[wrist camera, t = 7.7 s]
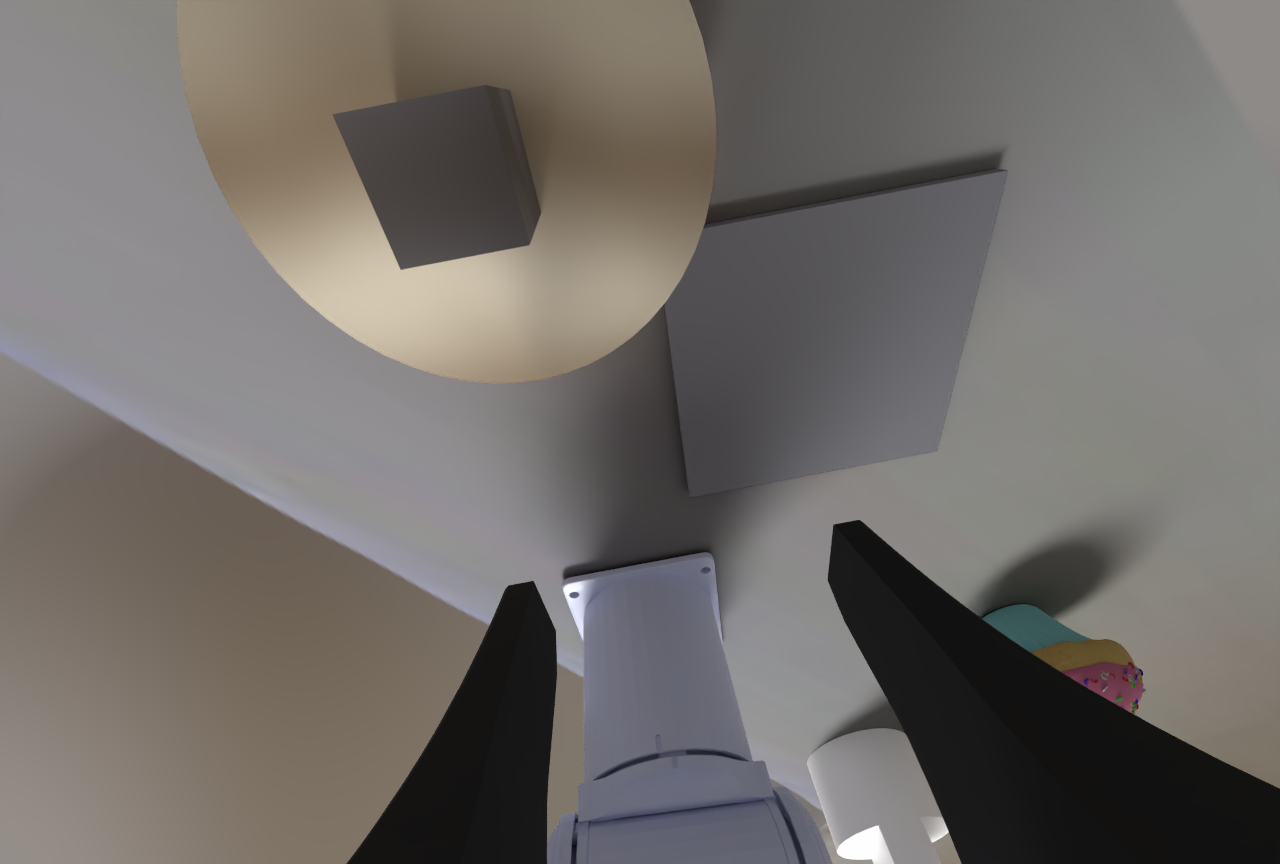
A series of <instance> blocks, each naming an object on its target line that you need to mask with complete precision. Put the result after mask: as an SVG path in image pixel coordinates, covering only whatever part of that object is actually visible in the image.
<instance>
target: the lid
mask: <svg viewBox="0 0 1280 864" xmlns="http://www.w3.org/2000/svg"><path fill="white" fill-rule="evenodd" d="M177 24H178V51H179V57H180V63H181V69H182V76H183V82H184V88H185V94H186V98H187V101H188V105H189V108H190V112H191V115H192V119H193V122H194V126H195V129H196V133H197V136H198V139H199V141H200V144H201V146H202V149H203V151H204V154H205V156H206V159H207V161H208V163H209V166H210V168H211V171H212V173H213V176H214V178H215V180H216V181H217V183H218V185H219V187H220V189H221V191H222V193H223V195H224V196H225V198H226V200H227V202H228V204H229V206H230V208H231V210H232V211H233V213H234V215H235V216H236V218H237V219H238V221H239V222H240V224H241V225H242V227H243V228H244V230H245V231H246V233H247V234H248V236H249V237H250V239H251V240H252V242H253V243H254V245H255V246H256V247H257V248H258V250H259V251H260V252H261V253H262V254H263V256H264V257H265V258H266V259H267V261H268V262H269V263H270V264H271V265H272V267H273V268H274V269H275V270H276V272H277V273H278V274H279V275H280V276H281V277H282V278H283V279H284V280H285V281H286V282H287V283H288V284H289V285H290V286H291V287H292V288H293V289H294V290H295V291H296V292H297V293H298V294H299V295H300V296H301V297H302V298H303V299H304V300H305V301H306V302H307V303H308V304H310V305H311V306H312V307H313V308H314V309H316V310H317V311H318V312H319V313H320V314H322V315H323V316H324V317H325V318H326V319H327V320H329V321H330V322H331V323H333V324H334V325H336V326H337V327H339V328H340V329H342V330H343V331H344V332H346V333H347V334H349V335H350V336H352V337H353V338H355V339H356V340H358V341H360V342H361V343H363V344H365V345H367V346H369V347H370V348H372V349H374V350H376V351H378V352H379V353H381V354H383V355H385V356H387V357H390V358H392V359H394V360H397V361H399V362H401V363H403V364H406V365H408V366H410V367H413V368H417V369H420V370H423V371H426V372H429V373H432V374H435V375H439V376H444V377H449V378H453V379H458V380H463V381H472V382H482V383H520V382H528V381H535V380H542V379H546V378H550V377H554V376H558V375H562V374H566V373H568V372H571V371H573V370H576V369H579V368H581V367H584V366H586V365H589V364H591V363H592V362H594V361H596V360H598V359H600V358H602V357H604V356H606V355H607V354H609V353H611V352H612V351H614V350H615V349H616V348H618V347H619V346H621V345H622V344H624V343H625V342H626V341H628V340H629V339H631V338H632V337H633V336H634V335H635V334H636V333H637V332H638V331H639V330H640V329H641V328H643V327H644V326H645V325H646V324H647V323H648V322H649V321H650V320H651V319H652V318H653V316H654V315H655V314H656V313H657V312H658V310H659V309H660V308H661V307H662V306H663V305H664V303H665V302H666V301H667V300H668V298H669V297H670V295H671V294H672V292H673V290H674V289H675V287H676V286H677V284H678V283H679V281H680V280H681V278H682V276H683V274H684V272H685V270H686V268H687V266H688V264H689V262H690V260H691V258H692V256H693V254H694V252H695V250H696V247H697V244H698V241H699V238H700V236H701V233H702V230H703V227H704V224H705V221H706V217H707V212H708V208H709V203H710V199H711V195H712V190H713V181H714V172H715V163H716V112H715V103H714V94H713V85H712V78H711V73H710V69H709V64H708V60H707V56H706V51H705V47H704V42H703V38H702V35H701V32H700V29H699V26H698V24H697V21H696V18H695V15H694V12H693V9H692V6H691V3H690V0H177Z"/></svg>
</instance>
